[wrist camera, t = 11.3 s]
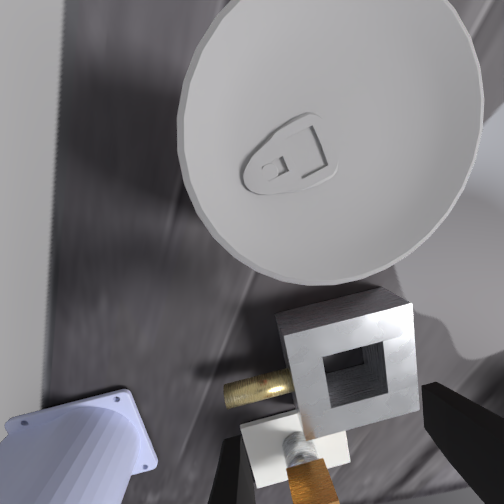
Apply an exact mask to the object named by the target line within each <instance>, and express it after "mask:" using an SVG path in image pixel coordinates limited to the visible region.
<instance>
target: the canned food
mask: <svg viewBox="0 0 504 504" xmlns="http://www.w3.org/2000/svg"><path fill="white" fill-rule="evenodd" d="M483 111H484V93H483V85H482V77H481V68H480V65H479V61H478V58H477V55H476V52H475V49H474V46H473V43H472V40H471V37H470V35H469V33H468V31H467V29H466V28H465V26H464V24H463V22H462V21H461V19H460V17H459V15H458V13H457V12H456V10H455V8H454V7H453V6H452V5H451V4H450V3H449V2H448V0H231V1H230V2H229V3H228V4H227V5H226V6H225V7H224V8H223V9H222V11H221V12H220V13H219V14H218V15H217V16H216V17H215V19H214V20H213V22H212V24H211V25H210V27H209V28H208V30H207V32H206V33H205V35H204V36H203V38H202V39H201V41H200V43H199V44H198V46H197V47H196V50H195V52H194V55H193V58H192V60H191V63H190V65H189V68H188V71H187V73H186V76H185V78H184V81H183V85H182V91H181V97H180V102H179V108H178V114H177V153H178V157H179V162H180V167H181V172H182V176H183V181H184V185H185V187H186V190H187V192H188V194H189V197H190V199H191V201H192V204H193V206H194V208H195V211H196V213H197V215H198V216H199V217H200V219H201V220H202V222H203V223H204V225H205V226H206V228H207V229H208V231H209V232H210V233H211V235H212V236H213V238H214V239H215V240H216V241H217V242H218V243H220V244H221V245H222V246H223V247H224V248H225V249H226V250H227V251H228V252H229V253H230V254H231V255H232V256H233V257H234V258H236V259H237V260H239V261H241V262H242V263H244V264H245V265H247V266H248V267H250V268H252V269H253V270H255V271H256V272H259V273H261V274H264V275H267V276H269V277H272V278H274V279H277V280H280V281H283V282H289V283H295V284H301V285H307V286H315V285H337V284H342V283H346V282H351V281H356V280H360V279H363V278H365V277H368V276H370V275H373V274H375V273H378V272H380V271H383V270H385V269H387V268H389V267H390V266H392V265H393V264H395V263H397V262H398V261H400V260H401V259H403V258H405V257H406V256H408V255H409V254H410V253H412V252H413V251H414V250H415V249H416V248H417V247H419V246H420V245H421V244H422V243H423V242H424V241H425V240H427V239H428V238H429V237H430V236H431V235H432V234H433V233H434V231H435V230H436V229H437V228H438V227H439V225H440V224H441V223H442V222H443V221H444V219H445V218H446V217H447V216H448V215H449V213H450V212H451V210H452V208H453V207H454V205H455V203H456V202H457V200H458V198H459V197H460V195H461V193H462V192H463V190H464V188H465V185H466V183H467V180H468V178H469V176H470V173H471V171H472V168H473V165H474V163H475V161H476V156H477V152H478V148H479V143H480V139H481V134H482V129H483Z"/></svg>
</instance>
